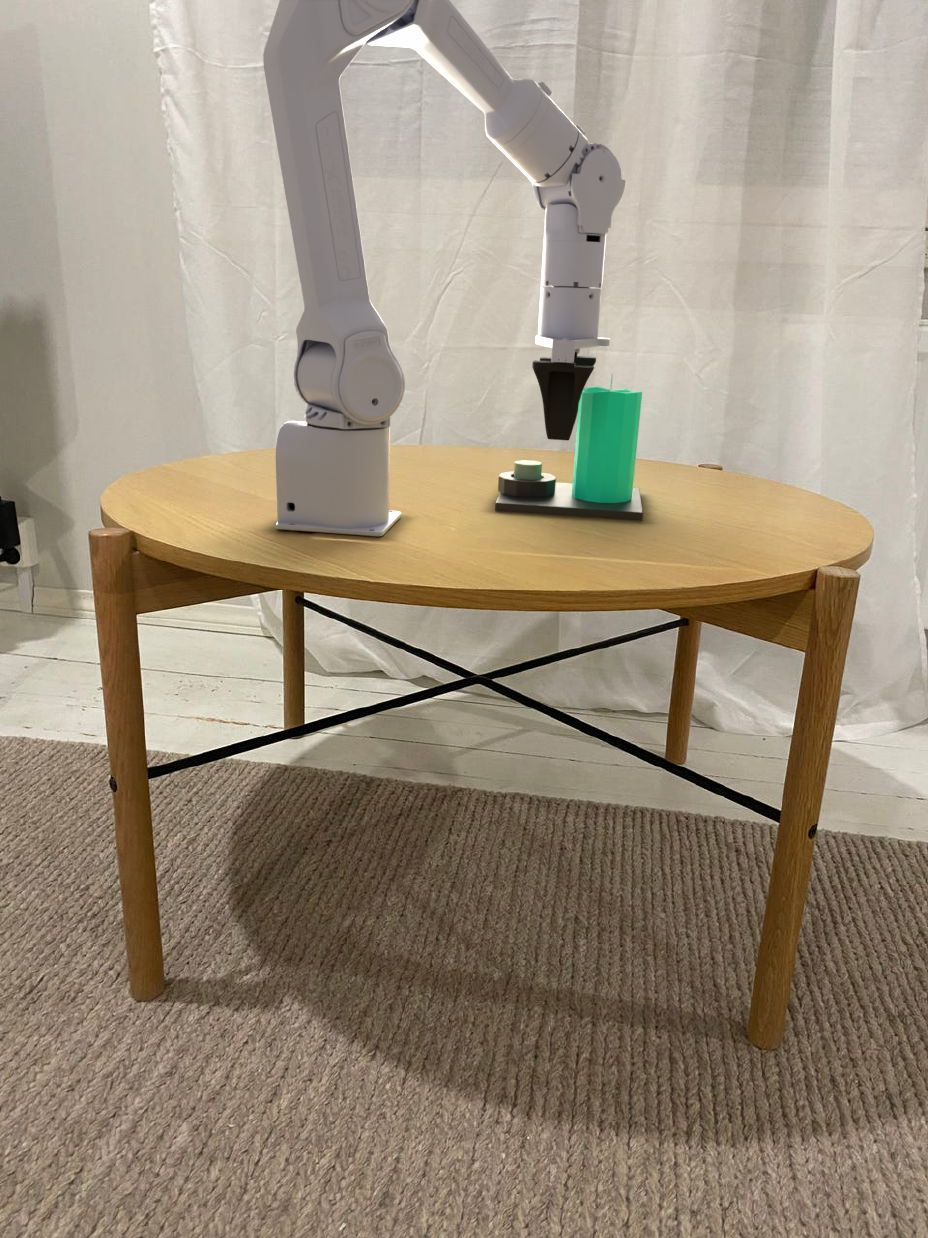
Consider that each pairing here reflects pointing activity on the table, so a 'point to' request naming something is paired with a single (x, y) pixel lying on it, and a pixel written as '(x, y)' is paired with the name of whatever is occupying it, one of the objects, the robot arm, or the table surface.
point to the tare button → (527, 469)
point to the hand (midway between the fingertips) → (560, 433)
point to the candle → (606, 444)
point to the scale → (559, 499)
